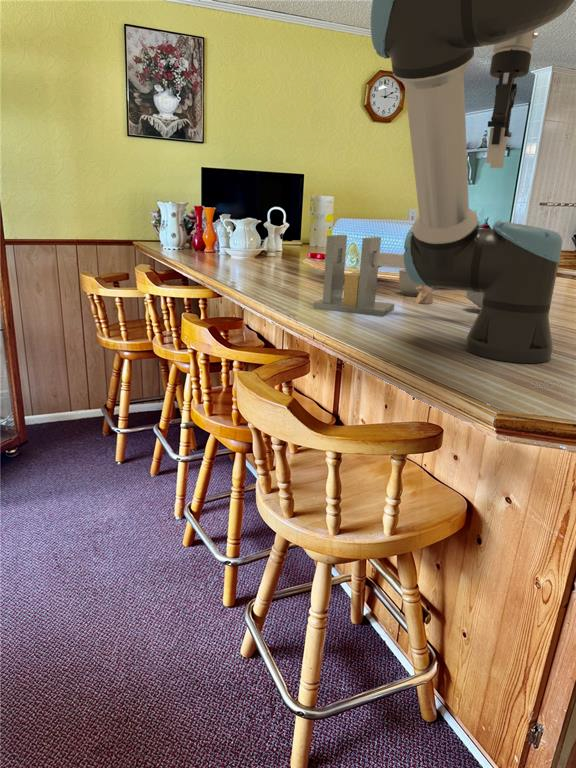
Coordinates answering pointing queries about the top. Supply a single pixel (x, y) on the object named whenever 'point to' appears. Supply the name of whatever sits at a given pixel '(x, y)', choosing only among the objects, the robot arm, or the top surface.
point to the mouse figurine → (424, 295)
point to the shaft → (388, 260)
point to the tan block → (351, 289)
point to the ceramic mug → (475, 297)
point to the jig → (366, 279)
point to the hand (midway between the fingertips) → (494, 165)
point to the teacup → (408, 284)
